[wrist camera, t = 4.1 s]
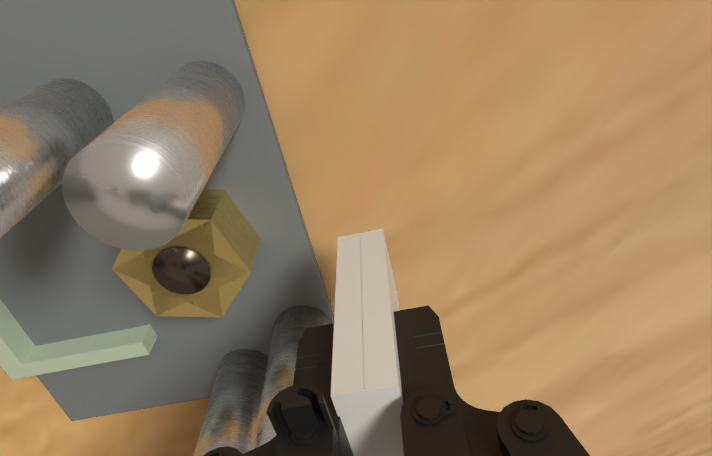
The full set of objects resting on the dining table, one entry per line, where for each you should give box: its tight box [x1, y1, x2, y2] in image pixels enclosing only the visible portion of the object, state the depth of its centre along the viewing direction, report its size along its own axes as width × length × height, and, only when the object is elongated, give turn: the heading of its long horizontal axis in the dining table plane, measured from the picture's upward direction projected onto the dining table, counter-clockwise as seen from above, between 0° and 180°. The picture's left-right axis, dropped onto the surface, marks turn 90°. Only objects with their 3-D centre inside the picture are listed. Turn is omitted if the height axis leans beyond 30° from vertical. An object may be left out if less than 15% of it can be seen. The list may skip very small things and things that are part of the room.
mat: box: [0, 0, 334, 421], centre depth 22 cm, size 16×20×1 cm
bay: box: [0, 299, 158, 379], centre depth 22 cm, size 7×10×1 cm
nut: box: [112, 189, 261, 318], centre depth 20 cm, size 5×5×3 cm
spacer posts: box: [0, 61, 332, 456], centre depth 19 cm, size 12×18×8 cm
